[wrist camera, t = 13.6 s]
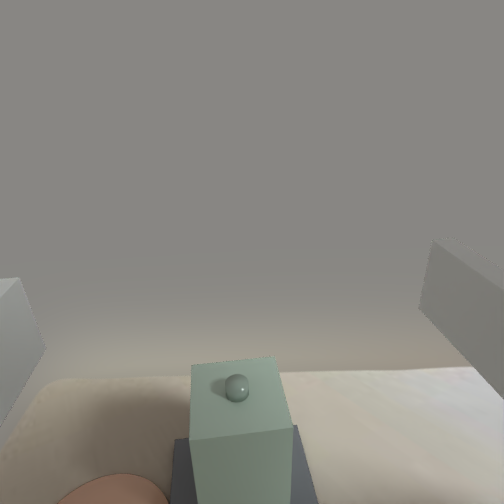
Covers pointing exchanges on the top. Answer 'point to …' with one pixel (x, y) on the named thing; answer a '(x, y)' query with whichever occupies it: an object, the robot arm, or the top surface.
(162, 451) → the top surface
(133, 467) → the top surface
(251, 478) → the cover
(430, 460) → the top surface
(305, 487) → the mat
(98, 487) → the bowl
